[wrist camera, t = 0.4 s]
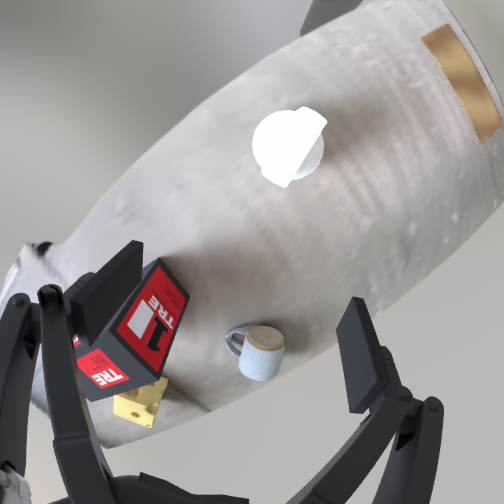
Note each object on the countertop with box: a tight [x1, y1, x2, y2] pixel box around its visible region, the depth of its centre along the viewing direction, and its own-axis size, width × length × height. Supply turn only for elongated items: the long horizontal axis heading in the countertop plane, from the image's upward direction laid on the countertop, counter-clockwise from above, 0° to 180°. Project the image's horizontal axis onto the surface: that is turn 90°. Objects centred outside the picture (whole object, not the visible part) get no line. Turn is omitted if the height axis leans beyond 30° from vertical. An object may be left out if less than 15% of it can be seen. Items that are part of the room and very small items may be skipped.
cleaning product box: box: [73, 258, 190, 402], centre depth 40 cm, size 16×9×20 cm, turn 122°
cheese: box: [114, 377, 168, 428], centre depth 55 cm, size 10×11×10 cm
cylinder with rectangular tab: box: [253, 107, 327, 187], centre depth 33 cm, size 9×9×12 cm
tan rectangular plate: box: [421, 24, 502, 144], centre depth 32 cm, size 22×9×1 cm, turn 40°
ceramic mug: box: [225, 326, 285, 381], centre depth 49 cm, size 11×8×8 cm
